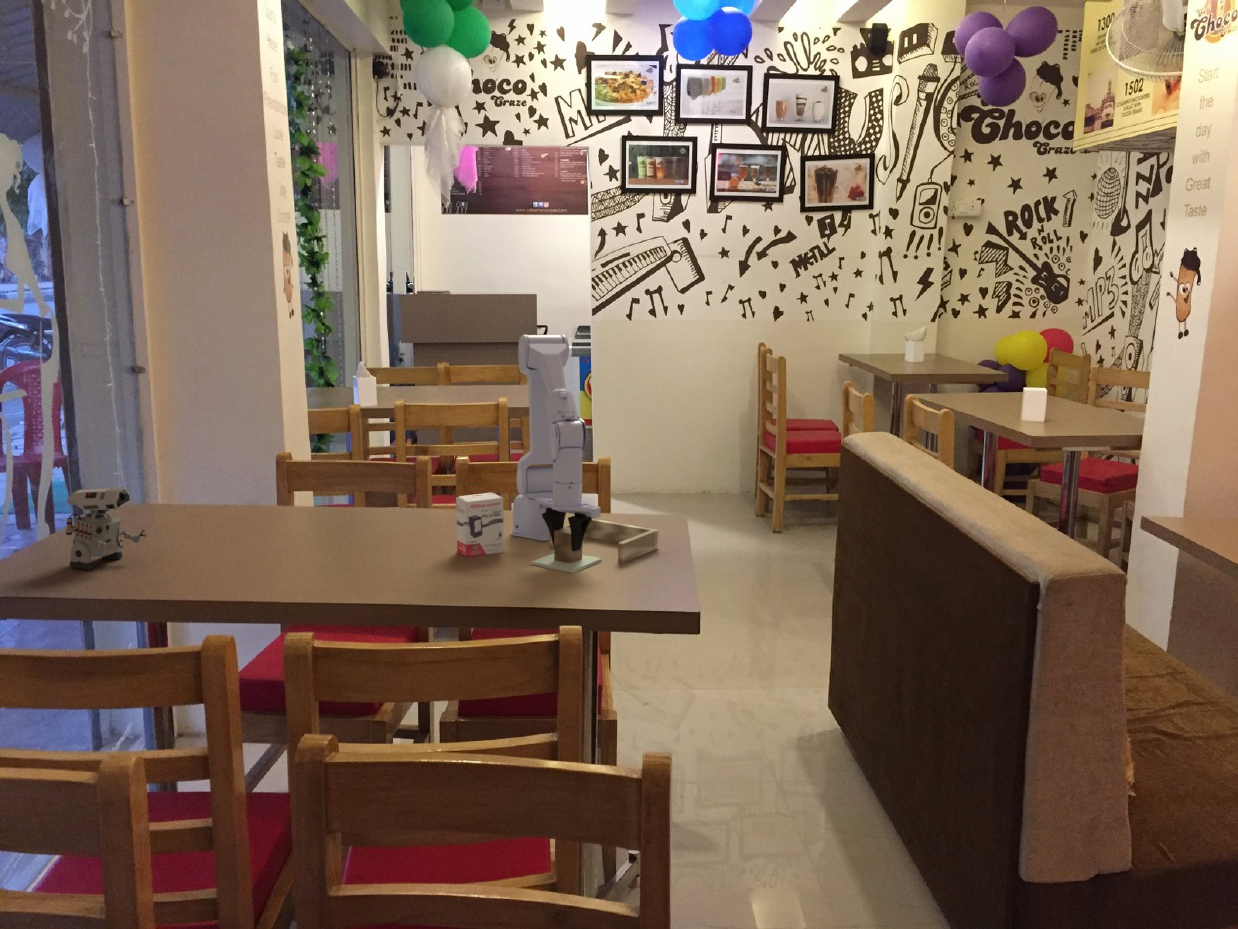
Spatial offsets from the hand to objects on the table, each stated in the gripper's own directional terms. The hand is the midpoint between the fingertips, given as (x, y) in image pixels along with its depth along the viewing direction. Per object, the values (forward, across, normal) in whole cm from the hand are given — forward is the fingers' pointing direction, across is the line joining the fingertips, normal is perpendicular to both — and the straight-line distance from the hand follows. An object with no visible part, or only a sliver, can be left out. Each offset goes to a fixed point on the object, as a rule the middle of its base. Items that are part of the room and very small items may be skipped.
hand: (566, 548), depth 199 cm
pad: (+3, 0, 0) cm, 3 cm away
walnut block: (+2, 0, 0) cm, 2 cm away
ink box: (+3, -19, -4) cm, 20 cm away
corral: (+3, 0, +13) cm, 13 cm away
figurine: (+3, -71, -53) cm, 89 cm away
